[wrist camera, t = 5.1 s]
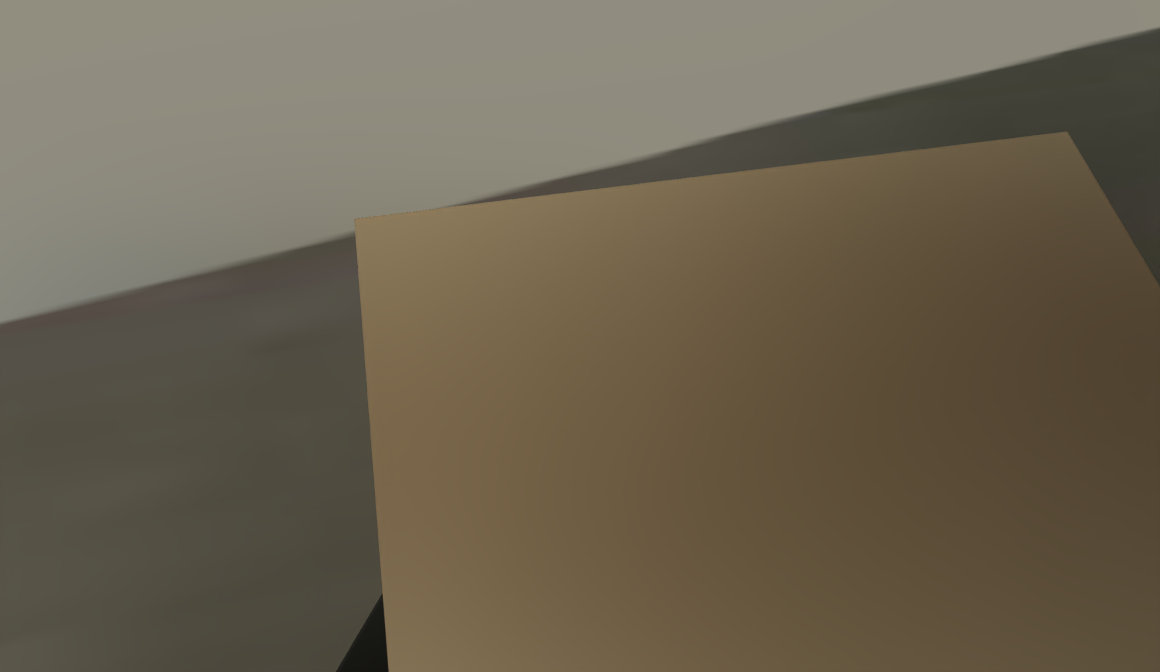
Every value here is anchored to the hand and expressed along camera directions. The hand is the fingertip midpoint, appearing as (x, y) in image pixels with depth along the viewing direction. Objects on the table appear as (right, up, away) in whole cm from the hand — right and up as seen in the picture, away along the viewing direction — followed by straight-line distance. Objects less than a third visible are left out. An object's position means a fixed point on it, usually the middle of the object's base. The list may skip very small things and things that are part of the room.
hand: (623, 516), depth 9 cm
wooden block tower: (0, -4, +5) cm, 7 cm away
